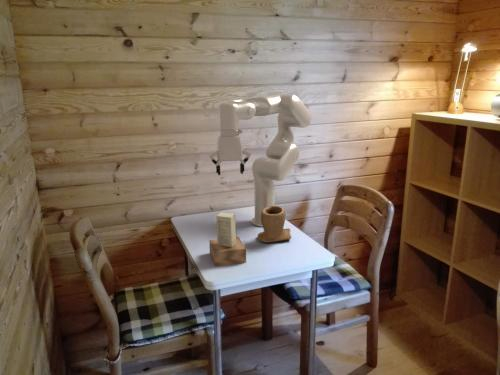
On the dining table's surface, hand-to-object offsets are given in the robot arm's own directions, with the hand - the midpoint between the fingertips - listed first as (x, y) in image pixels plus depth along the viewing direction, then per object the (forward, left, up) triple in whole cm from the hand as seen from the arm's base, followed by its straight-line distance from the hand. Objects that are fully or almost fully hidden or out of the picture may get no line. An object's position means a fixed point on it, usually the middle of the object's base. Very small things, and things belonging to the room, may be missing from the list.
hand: (230, 173), depth 171 cm
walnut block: (+5, +21, -29) cm, 36 cm away
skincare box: (+5, +22, -23) cm, 32 cm away
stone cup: (-18, +8, -28) cm, 35 cm away
